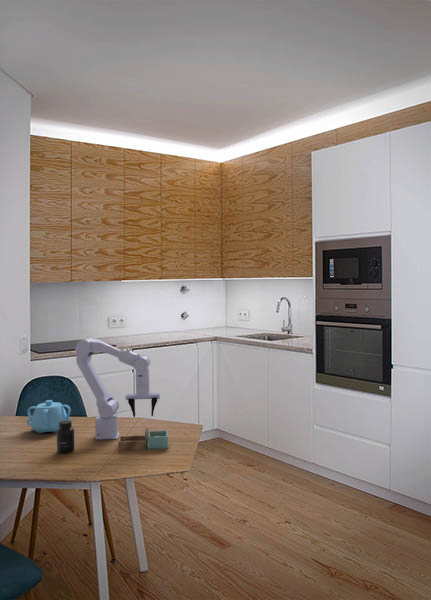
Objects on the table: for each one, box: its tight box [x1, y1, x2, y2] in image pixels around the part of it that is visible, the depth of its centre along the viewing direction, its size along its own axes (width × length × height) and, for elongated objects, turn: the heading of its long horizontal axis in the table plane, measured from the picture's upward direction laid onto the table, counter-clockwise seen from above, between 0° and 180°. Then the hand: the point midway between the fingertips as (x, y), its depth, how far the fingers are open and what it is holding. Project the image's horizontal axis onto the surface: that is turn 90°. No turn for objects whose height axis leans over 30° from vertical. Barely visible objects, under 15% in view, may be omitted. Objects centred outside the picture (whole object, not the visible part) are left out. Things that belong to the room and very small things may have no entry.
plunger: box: [144, 428, 150, 443], centre depth 211 cm, size 1×5×4 cm, turn 4°
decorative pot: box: [26, 399, 73, 434], centre depth 236 cm, size 16×16×14 cm
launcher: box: [117, 434, 148, 452], centre depth 211 cm, size 11×8×4 cm
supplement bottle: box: [56, 419, 75, 455], centre depth 206 cm, size 7×7×12 cm
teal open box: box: [147, 430, 169, 451], centre depth 211 cm, size 8×8×5 cm
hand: (143, 415), depth 222 cm, fingers open, 7 cm apart
